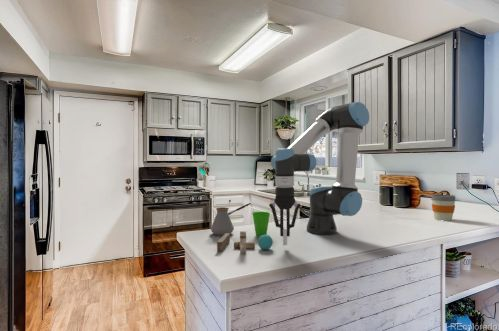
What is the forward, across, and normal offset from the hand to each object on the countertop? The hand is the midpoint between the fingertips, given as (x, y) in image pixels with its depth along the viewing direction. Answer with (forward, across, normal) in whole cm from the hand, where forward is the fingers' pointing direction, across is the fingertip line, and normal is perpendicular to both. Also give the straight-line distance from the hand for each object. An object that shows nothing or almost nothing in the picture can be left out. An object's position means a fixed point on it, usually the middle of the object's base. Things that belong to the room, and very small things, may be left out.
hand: (285, 244), depth 115 cm
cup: (+3, -12, +21) cm, 24 cm away
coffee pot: (+2, -27, +23) cm, 36 cm away
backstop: (+2, -26, 0) cm, 26 cm away
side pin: (+2, -16, -7) cm, 18 cm away
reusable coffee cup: (+4, +96, +76) cm, 122 cm away
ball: (-1, -8, -1) cm, 8 cm away
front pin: (+1, -13, 0) cm, 13 cm away
